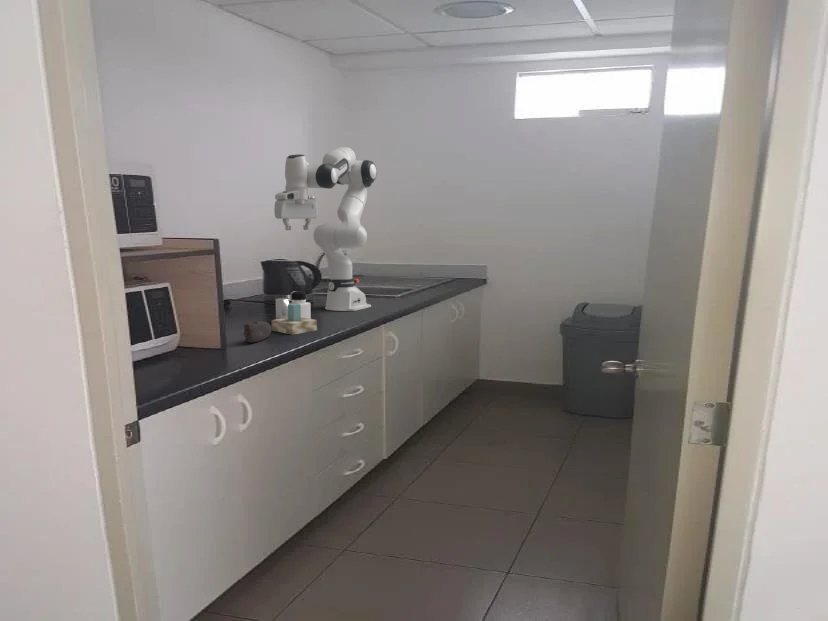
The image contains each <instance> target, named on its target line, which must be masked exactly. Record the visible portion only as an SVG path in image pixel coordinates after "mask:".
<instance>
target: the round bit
mask: <svg viewBox="0 0 828 621" xmlns="http://www.w3.org/2000/svg"><path fill="white" fill-rule="evenodd" d="M289 303H290V298H286V297H282V298H279V297H278V298H275V320H276V319H282V318H288V304H289Z"/></svg>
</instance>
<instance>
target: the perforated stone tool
mask: <svg viewBox="0 0 828 621" xmlns="http://www.w3.org/2000/svg"><path fill="white" fill-rule="evenodd" d="M243 328H244V329H243V330H244V331H243V336H244V339H245V342H247V343H251V344H252V343H257V342H260V341H264V340H265V339H267V338H268V337H269V336H270V335H271V333H272V324H270V323H269V322H267V321H261V320H260V321H254V322H249V323H245V324H244V325H243Z"/></svg>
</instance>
